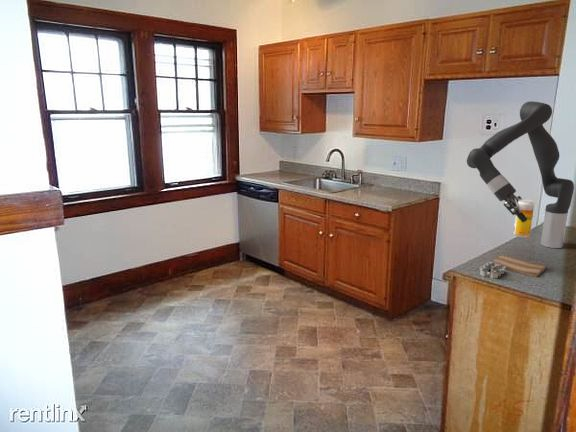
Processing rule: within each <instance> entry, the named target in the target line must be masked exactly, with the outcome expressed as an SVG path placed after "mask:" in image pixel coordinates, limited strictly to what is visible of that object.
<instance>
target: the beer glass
mask: <svg viewBox="0 0 576 432" xmlns="http://www.w3.org/2000/svg"><path fill="white" fill-rule="evenodd" d="M518 205H519V209H520V210H521V212H522V213H523V214H524V215H525V216H526V218H527V219H528V220H527V221H525V222H522V221H521V220H520V219H519V218H518V216H517V215H515V219H514V225H513V234H514V236H515V237H518V238H529V236H530V235H531V231H532V223H533V222H532V221H533V217H534V216H533V215H534V208H535V203H534V200H533V199H532V200H531V199H525V198H524V199H523V198H522V199H521V200H519V201H518ZM532 216H533V217H532Z"/></svg>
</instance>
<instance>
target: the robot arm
mask: <svg viewBox="0 0 576 432" xmlns="http://www.w3.org/2000/svg"><path fill="white" fill-rule="evenodd" d="M552 108H553V107H552V106H551V105H550V104H548V103H545V102H540V101H533V100H531V101H526V102H524V104H522V105H521V106H520V109H519V118H520V121H519V122H517V123H516V124H515V123H514V124H513V125H511V126H509V127H506V128H503V129H501V130H499V131H498V132H496V133H494V134H493V135H492V136H490V137H489V138H488V139H486V141H485V142H483V144H482V145H481V146H480V147H479V148H476V147H475V148H473V149H472V150H471V151H469V153H468V156H467V158H466V163H467V166H468V167H469V168H471V169H477V170H478V172H479V176H480V178H481V179H482V180H483V182H484V183H485V185H487V187H488V188H489V190H490V191H491V193H492V194H493V195H494V196H495V198H496V199H497V200H498V201H499V202H504V203H503V206H504V207H505V208H506V210H508V211H509V213H511V215H512V216H514V215H515V216H516V215H517V216H518V218H519V219H520V220H521V221H522V222H525V221H527V220H528V219H527V218H526V216H525V215H524V214H523V213H522V212H521V210H520V209H519V205H518V201H519V200H521V199H523V198H522V197H521V196H520V195H518V196H516V195H515V193H516V192H517V190H516V188H515V187H514V186H513V185H512V183H510V182H509V180H508V179H507V177H505V176H504V175H503V174H502V173H501V171H500V170H498V169H497V168H496V166H495V165H494V163H493V162H492V161H493V160H492V159H491V158H492V157H493V156H495V155H496V154H498V153H499V152H501V151H503V149H505V148H506V147H508V145H509V144H512V143H513V142H514V141H516V140H517V139H519V138H521V137H522V136H524V135H526V134H527V135H528V138H529V141H530V144H531V146H532V150H533V154H534V158H535V160H536V162H537V165H538V169H539V172H540V176H541V177H540V178H541V181H542V187H543V191H544V193H545V194H546V195H547V196H548V197H551V198H552V197H553V198H557V200H556V202H554V203H549V204H548V203H547V204H546V206H545V209H544V210H545V211H544V218H543V225H542V232H541V238H540V239H541V240H540V245H541V246H543V247H546V248H551V249H560V248H561V249H562V248H563V247H564V240H565V234H566V228H567V221H568V215H569V210H570V207H571V204H572V198H573V195H574V191H575V190H574V189H575V184H574V182H573V180H572V179H568V178H561V177H560V178H559V177H557V176H556V174H555V167H556V165H557V163H559V160H560V151H559V148H558V144H557V142H556V140H555V139H554V138H553V136H552V135H551V134H550V133H549V132H548V131H547V129H546V128H545V127H544V124H546V123H547V122H548V121H549V120H550V118H551V117H552V114H553V109H552ZM533 217H534V216H532V218H533Z"/></svg>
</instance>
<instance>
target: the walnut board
mask: <svg viewBox="0 0 576 432" xmlns="http://www.w3.org/2000/svg"><path fill="white" fill-rule="evenodd" d="M491 262H493V263H496V264H499V265H502V267H504V266H505V267H506V268H505V269H504V271H509V272H514V273H517V274H521V275H526V276H531V277H534V278H538V276H540V275H541V274H542V273H543V272H544V271H545V270H546V269H547V264H542V263H538V262H533V261H529V260H525V259H521V258H517V257H512V256H506V255H499V256H498V257H497V258H495V259H494V260H492V261H491Z"/></svg>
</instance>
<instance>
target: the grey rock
mask: <svg viewBox="0 0 576 432" xmlns="http://www.w3.org/2000/svg"><path fill="white" fill-rule="evenodd" d="M505 268H506V267H505V266H504V267H502V265H499V264H496V263H493V262H492V261H488V262H487V263H484V264H483V265H481V266H480V265H479V274H480V275H481V276H482V277H489V278H490V279H498V278H499V277H501V275H504V274H505V270H504V269H505Z"/></svg>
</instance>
